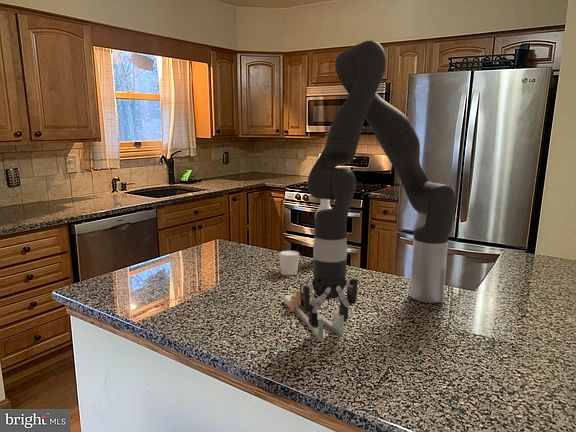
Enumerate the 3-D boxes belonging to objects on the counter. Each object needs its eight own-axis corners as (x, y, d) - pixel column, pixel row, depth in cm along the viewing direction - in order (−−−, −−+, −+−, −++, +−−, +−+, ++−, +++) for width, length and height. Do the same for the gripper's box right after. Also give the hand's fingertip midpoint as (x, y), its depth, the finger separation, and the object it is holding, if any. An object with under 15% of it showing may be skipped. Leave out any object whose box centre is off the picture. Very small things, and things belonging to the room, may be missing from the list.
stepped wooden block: (289, 309, 115) (289, 291, 114) (307, 306, 117) (307, 288, 116) (292, 312, 113) (292, 293, 112) (310, 309, 115) (310, 290, 114)
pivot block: (283, 302, 119) (283, 294, 119) (298, 300, 121) (298, 292, 120) (289, 308, 115) (289, 299, 115) (304, 305, 117) (304, 297, 117)
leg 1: (290, 308, 115) (290, 290, 114) (295, 307, 116) (295, 290, 115) (318, 340, 98) (318, 319, 97) (323, 339, 98) (323, 318, 97)
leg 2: (300, 306, 116) (300, 289, 115) (304, 305, 117) (304, 288, 116) (338, 336, 100) (339, 316, 99) (343, 334, 100) (343, 315, 99)
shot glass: (297, 276, 141) (297, 256, 139) (276, 275, 142) (276, 255, 141) (300, 270, 147) (300, 250, 146) (281, 268, 148) (281, 249, 147)
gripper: (348, 248, 103) (346, 312, 106) (294, 254, 97) (293, 322, 100) (366, 256, 96) (363, 325, 99) (308, 264, 90) (307, 336, 94)
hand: (328, 323), depth 100 cm, fingers open, 7 cm apart
